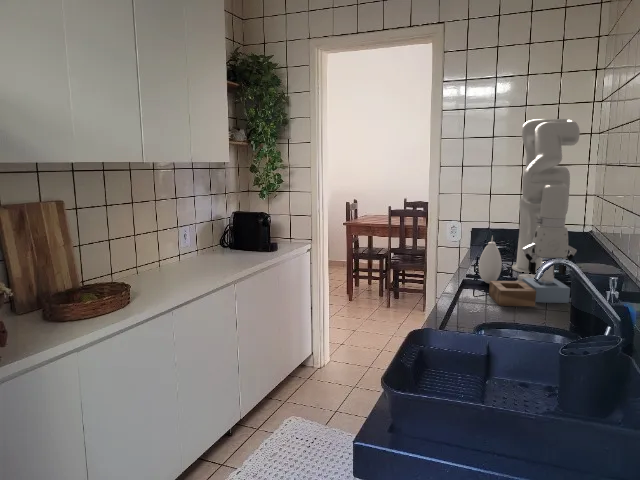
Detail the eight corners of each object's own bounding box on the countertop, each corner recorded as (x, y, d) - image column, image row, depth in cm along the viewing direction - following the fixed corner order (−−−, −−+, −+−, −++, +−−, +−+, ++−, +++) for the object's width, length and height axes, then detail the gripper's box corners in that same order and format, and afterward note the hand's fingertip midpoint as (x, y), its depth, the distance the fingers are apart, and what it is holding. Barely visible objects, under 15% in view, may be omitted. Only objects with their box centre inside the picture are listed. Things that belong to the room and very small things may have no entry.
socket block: (521, 291, 162) (522, 278, 161) (553, 292, 162) (554, 278, 161) (534, 302, 152) (535, 287, 151) (568, 302, 151) (570, 288, 150)
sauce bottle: (482, 278, 178) (485, 232, 175) (502, 282, 173) (507, 235, 170) (474, 283, 172) (477, 235, 169) (495, 287, 168) (499, 238, 164)
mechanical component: (516, 290, 164) (546, 292, 162) (517, 278, 164) (547, 280, 161) (511, 282, 174) (540, 284, 172) (512, 271, 173) (541, 273, 171)
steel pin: (535, 294, 159) (538, 260, 157) (548, 295, 159) (551, 261, 156) (540, 299, 155) (544, 264, 152) (553, 299, 155) (557, 264, 152)
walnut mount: (488, 294, 159) (489, 280, 158) (521, 295, 158) (522, 281, 157) (499, 305, 148) (500, 290, 147) (534, 306, 148) (536, 291, 147)
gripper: (529, 224, 148) (524, 276, 152) (585, 225, 148) (578, 276, 151) (520, 220, 156) (516, 270, 159) (573, 221, 155) (567, 270, 158)
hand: (546, 273), depth 155 cm, fingers open, 9 cm apart
